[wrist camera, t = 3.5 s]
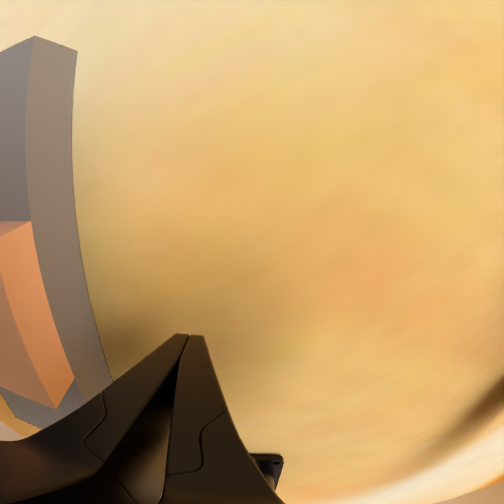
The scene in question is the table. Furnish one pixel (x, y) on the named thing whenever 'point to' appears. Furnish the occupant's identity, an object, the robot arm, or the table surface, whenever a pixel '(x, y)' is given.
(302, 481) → the table surface
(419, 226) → the table surface
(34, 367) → the coaster
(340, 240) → the table surface
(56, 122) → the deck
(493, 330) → the table surface
